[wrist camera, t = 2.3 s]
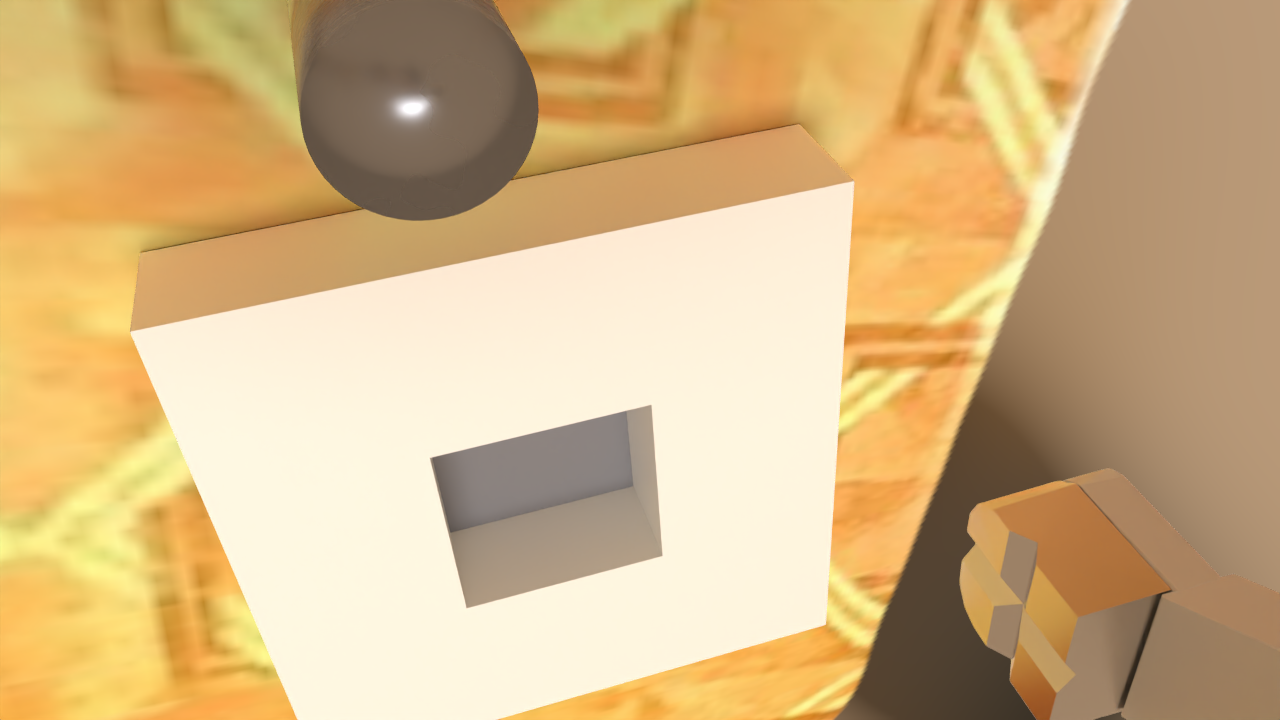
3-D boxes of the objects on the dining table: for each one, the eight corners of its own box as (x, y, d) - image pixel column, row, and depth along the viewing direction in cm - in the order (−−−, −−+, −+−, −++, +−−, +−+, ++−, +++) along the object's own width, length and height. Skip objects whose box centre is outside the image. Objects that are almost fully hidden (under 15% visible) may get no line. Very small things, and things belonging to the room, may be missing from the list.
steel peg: (260, -121, 27) (271, 21, 19) (441, -145, 27) (522, -20, 20) (305, 55, 29) (331, 240, 22) (469, 27, 30) (550, 196, 22)
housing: (140, 252, 31) (129, 332, 28) (799, 123, 35) (854, 180, 32) (313, 682, 43) (319, 770, 40) (787, 553, 47) (825, 624, 44)
